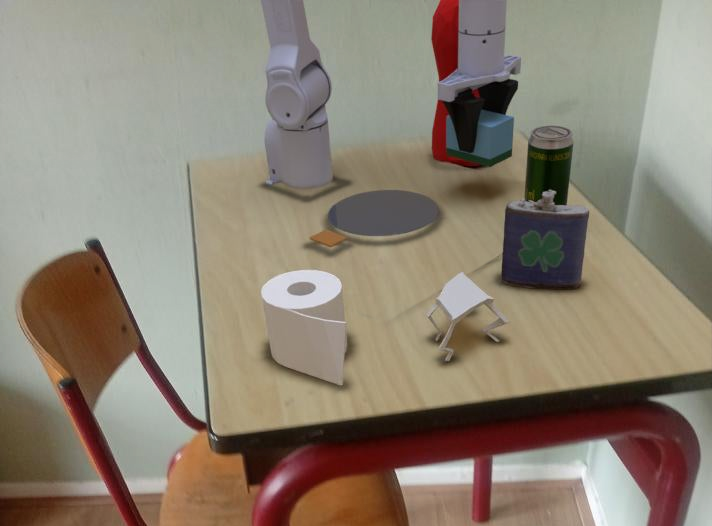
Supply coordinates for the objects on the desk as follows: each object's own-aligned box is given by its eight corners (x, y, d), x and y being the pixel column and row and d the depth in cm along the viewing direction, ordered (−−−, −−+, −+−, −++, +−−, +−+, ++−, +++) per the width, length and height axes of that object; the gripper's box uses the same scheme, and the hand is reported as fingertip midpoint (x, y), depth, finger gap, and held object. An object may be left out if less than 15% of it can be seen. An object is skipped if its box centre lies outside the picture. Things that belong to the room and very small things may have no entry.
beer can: (572, 229, 104) (584, 131, 95) (544, 242, 101) (553, 143, 93) (541, 217, 107) (550, 121, 99) (513, 229, 104) (519, 132, 96)
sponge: (446, 155, 109) (446, 116, 106) (468, 145, 112) (469, 106, 108) (489, 167, 105) (491, 127, 102) (512, 156, 108) (514, 116, 104)
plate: (305, 223, 109) (304, 216, 108) (381, 188, 117) (381, 181, 116) (386, 253, 101) (385, 246, 101) (461, 214, 109) (461, 206, 108)
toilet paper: (341, 385, 80) (335, 324, 76) (255, 356, 85) (244, 296, 80) (386, 347, 85) (382, 287, 80) (302, 321, 90) (294, 263, 85)
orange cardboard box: (310, 246, 104) (309, 237, 103) (326, 238, 105) (325, 229, 105) (331, 254, 102) (330, 245, 101) (348, 246, 103) (347, 237, 103)
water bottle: (427, 173, 120) (425, -25, 103) (436, 147, 128) (435, -41, 111) (490, 174, 119) (497, -27, 102) (495, 147, 126) (503, -43, 109)
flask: (581, 280, 94) (592, 188, 86) (578, 292, 92) (590, 199, 84) (502, 274, 96) (507, 183, 89) (498, 285, 94) (502, 194, 86)
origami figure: (515, 357, 83) (518, 314, 79) (435, 366, 82) (434, 323, 79) (490, 301, 91) (492, 260, 88) (417, 309, 91) (416, 268, 87)
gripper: (470, 47, 92) (467, 168, 102) (543, 20, 100) (535, 135, 109) (424, 39, 96) (425, 156, 105) (498, 14, 103) (493, 125, 113)
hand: (478, 145), depth 107 cm, fingers closed on sponge, 5 cm apart
